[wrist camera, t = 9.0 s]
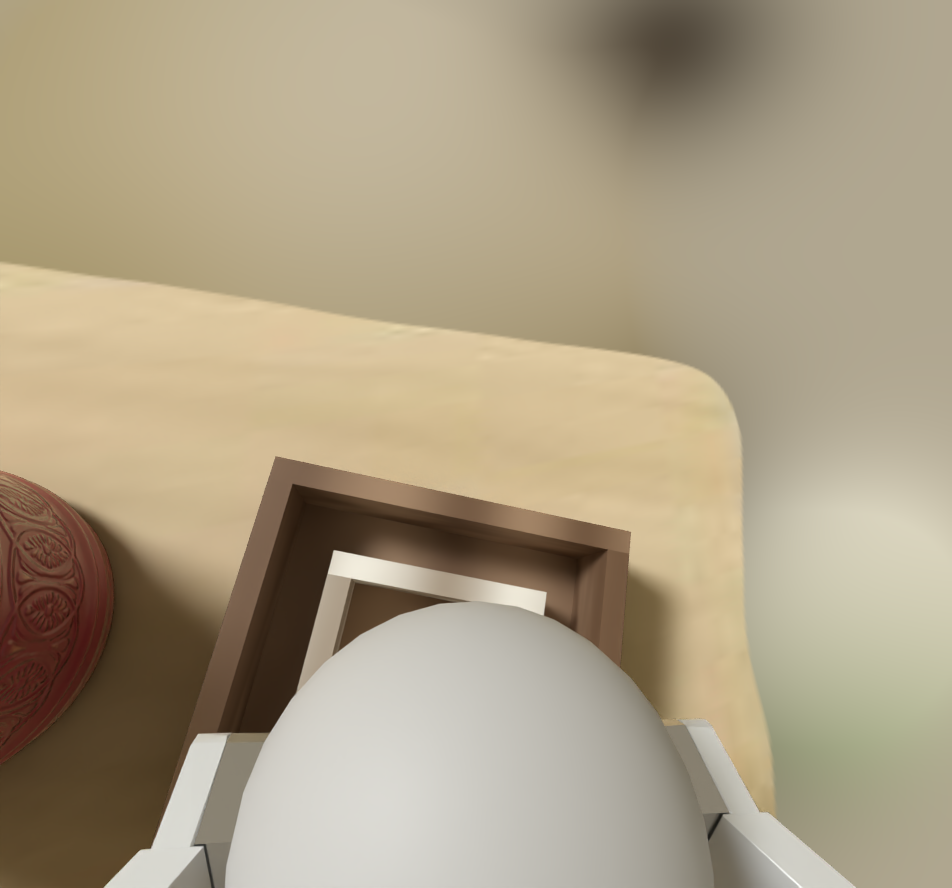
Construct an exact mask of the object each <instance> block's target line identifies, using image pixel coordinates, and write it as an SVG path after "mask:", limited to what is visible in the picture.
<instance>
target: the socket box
mask: <svg viewBox="0 0 952 888" xmlns="http://www.w3.org/2000/svg"><path fill="white" fill-rule="evenodd" d="M630 536H631V532H629V531H624V530H620V529H615V528H610V527H606V526H601V525H596V524H592V523H587V522H582V521H577V520H573V519H568V518H563V517H559V516H554V515H549V514H544V513H540V512H535V511H530V510H526V509H521V508H516V507H512V506H507V505H502V504H497V503H493V502H488V501H483V500H479V499H474V498H469V497H464V496H460V495H455V494H450V493H446V492H441V491H436V490H432V489H427V488H422V487H417V486H413V485H408V484H403V483H399V482H394V481H389V480H384V479H380V478H375V477H370V476H366V475H361V474H356V473H352V472H347V471H342V470H337V469H333V468H328V467H323V466H319V465H314V464H309V463H304V462H300V461H295V460H290V459H286V458H281V457H275V460H274V463H273V466H272V470H271V473H270V476H269V479H268V482H267V485H266V488H265V491H264V495H263V498H262V501H261V504H260V507H259V510H258V513H257V516H256V519H255V523H254V526H253V529H252V532H251V535H250V538H249V541H248V544H247V548H246V551H245V554H244V557H243V560H242V563H241V566H240V569H239V572H238V576H237V579H236V582H235V585H234V588H233V591H232V594H231V597H230V601H229V604H228V607H227V610H226V613H225V616H224V619H223V622H222V626H221V629H220V632H219V635H218V638H217V641H216V644H215V647H214V650H213V654H212V657H211V660H210V663H209V666H208V669H207V672H206V675H205V679H204V682H203V685H202V688H201V691H200V694H199V697H198V700H197V703H196V707H195V710H194V713H193V716H192V719H191V722H190V725H189V728H188V732H187V735H186V738H185V741H184V744H183V747H182V750H181V753H180V757H179V760H178V763H177V766H176V769H175V772H174V775H173V778H172V781H171V785H170V788H169V791H168V794H167V797H166V800H165V803H164V806H163V810H162V813H161V816H160V819H159V822H158V825H157V828H156V831H155V834H154V838H153V841H152V844H151V847H150V849H151V848H152V845H153V843H154V840H155V837H156V835H157V832H158V830H159V827H160V824H161V822H162V819H163V816H164V814H165V811H166V809H167V806H168V803H169V801H170V798H171V795H172V793H173V790H174V788H175V785H176V782H177V780H178V777H179V774H180V772H181V769H182V767H183V764H184V761H185V759H186V756H187V753H188V751H189V748H190V746H191V744H192V742H193V741H194V739H195V738H196V736H197V735H198V734H208V733H266V732H271V731H272V729H273V728H274V726H275V724H276V723H277V721H278V720H279V718H280V716H281V715H282V713H283V712H284V710H285V709H286V707H287V705H288V704H289V702H290V701H291V699H292V698H293V697H294V696H295V694H296V693H297V692H298V691H299V690H300V689H301V688H302V687H303V686H304V684H305V683H306V682H307V681H308V680H309V679H310V678H311V677H312V676H313V675H314V673H315V672H316V671H317V670H318V669H319V668H320V667H321V666H322V665H323V663H324V662H326V661H327V660H328V659H330V658H331V657H332V656H333V655H335V654H336V653H337V652H339V651H340V650H341V649H342V648H344V647H345V646H346V645H348V644H349V643H350V642H352V641H353V640H354V639H355V638H357V637H358V636H359V635H361V634H363V633H365V632H367V631H369V630H371V629H373V628H374V627H376V626H378V625H380V624H382V623H384V622H386V621H388V620H390V619H392V618H394V617H396V616H398V615H401V614H404V613H408V612H412V611H415V610H419V609H422V608H426V607H430V606H433V605H437V604H444V603H459V602H473V601H482V602H489V603H496V604H503V605H511V606H518V607H521V608H523V609H526V610H529V611H532V612H535V613H537V614H540V615H543V616H546V617H549V618H551V619H554V620H556V621H558V622H559V623H561V624H563V625H564V626H566V627H568V628H569V629H571V630H573V631H574V632H576V633H578V634H579V635H581V636H583V637H584V638H586V639H588V640H589V641H590V642H592V643H593V644H594V645H595V646H596V647H597V648H598V649H600V650H601V651H602V652H603V653H604V654H605V655H606V656H607V657H608V658H609V659H611V660H612V661H613V662H614V663H615V664H616V665H617V666H618V667H619V668H620V665H621V652H622V639H623V626H624V614H625V601H626V588H627V575H628V562H629V549H630Z"/></svg>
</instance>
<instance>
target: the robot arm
mask: <svg viewBox="0 0 952 888" xmlns="http://www.w3.org/2000/svg"><path fill="white" fill-rule="evenodd" d="M661 720H662V722H663V724H664V726H665V727H666V729H667V731H668V733H669V735H670V737H671V739H672V741H673V743H674V745H675V746H676V748H677V750H678V752H679V754H680V756H681V758H682V760H683V762H684V764H685V766H686V768H687V770H688V773H689V776H690V779H691V781H692V784H693V787H694V790H695V793H696V796H697V799H698V802H699V805H700V808H701V811H702V814H703V817H704V820H705V826H706V832H707V838H708V844H709V849H710V855H711V861H712V867H713V873H714V888H856V887H855V886H854V885H853V884H852V883H850V882H849V881H848V880H847V879H845V878H844V877H843V876H842V875H841V874H840V873H839V872H837V871H836V870H835V869H834V868H833V867H832V866H830V865H829V864H828V863H827V862H826V861H825V860H823V859H822V858H821V857H820V856H819V855H817V854H816V853H815V852H814V851H813V850H812V849H811V848H809V847H808V846H807V845H806V844H805V843H804V842H802V841H801V840H800V839H799V838H798V837H797V836H795V835H794V834H793V833H792V832H791V831H790V830H788V829H787V828H786V827H785V826H784V825H782V824H781V823H780V822H779V821H778V820H777V819H775V818H774V817H773V816H772V815H771V814H770V813H768V812H760V811H759V810H758V808H757V806H756V804H755V802H754V801H753V799H752V797H751V795H750V793H749V792H748V790H747V788H746V786H745V784H744V783H743V781H742V779H741V777H740V775H739V774H738V772H737V770H736V768H735V767H734V765H733V763H732V761H731V759H730V758H729V756H728V754H727V752H726V750H725V749H724V747H723V745H722V743H721V741H720V740H719V738H718V736H717V734H716V732H715V731H714V729H713V727H712V725H711V724H710V723H709V722H708V721H707V720H705V719H700V718H699V719H679V720H677V719H661ZM269 734H270V732H266V733H208V734H198V735H197V736H196V738H195V739H194V741H193V742H192V744H191V746H190V748H189V751H188V753H187V756H186V759H185V761H184V764H183V767H182V769H181V772H180V774H179V777H178V780H177V782H176V785H175V788H174V790H173V793H172V795H171V798H170V801H169V803H168V806H167V809H166V811H165V814H164V816H163V819H162V822H161V824H160V827H159V830H158V832H157V835H156V837H155V840H154V843H153V845H152V848H151V849H142V850H140V851H139V852H138V853H137V854H136V855H135V856H134V857H133V858H132V859H131V860H130V861H129V862H128V863H127V864H126V865H125V866H124V867H123V868H122V869H121V870H120V871H119V872H118V873H117V874H116V875H115V876H114V877H113V878H112V879H111V880H110V881H109V882H108V884H107V885H106V886H105V887H104V888H225V877H226V865H227V860H228V856H229V852H230V848H231V843H232V839H233V835H234V830H235V826H236V822H237V818H238V813H239V809H240V805H241V800H242V796H243V792H244V790H245V787H246V785H247V782H248V780H249V778H250V775H251V773H252V770H253V768H254V766H255V763H256V761H257V758H258V756H259V754H260V751H261V749H262V746H263V744H264V742H265V740H266V739H267V737H268V735H269Z"/></svg>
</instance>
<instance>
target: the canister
mask: <svg viewBox="0 0 952 888" xmlns="http://www.w3.org/2000/svg"><path fill="white" fill-rule="evenodd" d="M113 610H114V582H113V575H112V570H111V566H110V562H109V559H108V556H107V554H106V551H105V549H104V547H103V545H102V543H101V541H100V539H99V538H98V536H97V534H96V533H95V531H94V530H93V529H92V528H91V526H90V525H89V524H88V523H87V522H86V521H85V520H84V518H83V517H81V516H80V515H79V514H78V513H77V512H76V511H75V510H74V509H73V508H72V507H71V506H70V505H69V504H68V503H66V502H65V501H64V500H63V499H61V498H60V497H59V496H57V495H56V494H54V493H53V492H51V491H49V490H48V489H46V488H44V487H42V486H40V485H38V484H36V483H33V482H31V481H28V480H26V479H24V478H21V477H18V476H16V475H13V474H10V473H7V472H3V471H0V765H1V764H2V763H4V762H5V761H7V760H8V759H10V758H11V757H12V756H14V755H15V754H16V753H18V752H19V751H20V750H21V749H23V748H24V747H25V746H27V745H28V744H30V743H31V742H32V741H33V740H35V739H36V738H37V737H38V736H40V735H41V734H42V733H43V732H44V731H45V730H47V729H48V728H49V727H50V726H51V725H52V724H53V723H54V722H55V721H56V720H57V719H58V718H59V717H60V716H61V715H62V714H63V713H64V712H65V711H66V709H67V708H68V707H69V706H70V705H71V704H72V702H73V701H74V700H75V699H76V697H77V696H78V695H79V693H80V692H81V691H82V689H83V688H84V686H85V685H86V683H87V682H88V680H89V678H90V676H91V675H92V673H93V671H94V670H95V668H96V666H97V663H98V661H99V659H100V657H101V655H102V652H103V650H104V647H105V645H106V642H107V638H108V635H109V632H110V627H111V623H112V617H113Z"/></svg>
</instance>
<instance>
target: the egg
mask: <svg viewBox="0 0 952 888" xmlns="http://www.w3.org/2000/svg"><path fill="white" fill-rule="evenodd" d="M225 888H714V873H713V867H712V861H711V855H710V849H709V844H708V838H707V832H706V826H705V820H704V817H703V814H702V811H701V808H700V805H699V802H698V799H697V796H696V793H695V790H694V787H693V784H692V781H691V779H690V776H689V773H688V770H687V768H686V766H685V764H684V762H683V760H682V758H681V756H680V754H679V752H678V750H677V748H676V746H675V745H674V743H673V741H672V739H671V737H670V735H669V733H668V731H667V729H666V727H665V726H664V724H663V722H662V720H661V718H660V716H659V714H658V713H657V711H656V710H655V709H654V707H653V706H652V705H651V703H650V702H649V701H648V700H647V698H646V697H645V696H644V694H643V693H642V692H641V690H640V689H639V688H638V687H637V685H636V684H635V683H634V681H633V680H632V679H631V677H629V676H628V675H627V674H626V673H625V672H624V671H623V670H622V669H621V668H619V667H618V666H617V665H616V664H615V663H614V662H613V661H612V660H611V659H609V658H608V657H607V656H606V655H605V654H604V653H603V652H602V651H601V650H600V649H598V648H597V647H596V646H595V645H594V644H593V643H592V642H590V641H589V640H588V639H586V638H584V637H583V636H581V635H579V634H578V633H576V632H574V631H573V630H571V629H569V628H568V627H566V626H564V625H563V624H561V623H559V622H558V621H556V620H554V619H551V618H549V617H546V616H543V615H540V614H537V613H535V612H532V611H529V610H526V609H523V608H521V607H518V606H511V605H503V604H496V603H489V602H482V601H473V602H459V603H444V604H437V605H433V606H430V607H426V608H422V609H419V610H415V611H412V612H408V613H404V614H401V615H398V616H396V617H394V618H392V619H390V620H388V621H386V622H384V623H382V624H380V625H378V626H376V627H374V628H373V629H371V630H369V631H367V632H365V633H363V634H361V635H359V636H358V637H357V638H355V639H354V640H353V641H352V642H350V643H349V644H348V645H346V646H345V647H344V648H342V649H341V650H340V651H339V652H337V653H336V654H335V655H333V656H332V657H331V658H330V659H328V660H327V661H326V662H324V663H323V665H322V666H321V667H320V668H319V669H318V670H317V671H316V672H315V673H314V675H313V676H312V677H311V678H310V679H309V680H308V681H307V682H306V683H305V684H304V686H303V687H302V688H301V689H300V690H299V691H298V692H297V693H296V694H295V696H294V697H293V698H292V699H291V701H290V702H289V704H288V705H287V707H286V709H285V710H284V712H283V713H282V715H281V716H280V718H279V720H278V721H277V723H276V724H275V726H274V728H273V729H272V731H271V732H270V734H269V735H268V737H267V739H266V740H265V742H264V744H263V746H262V749H261V751H260V754H259V756H258V758H257V761H256V763H255V766H254V768H253V770H252V773H251V775H250V778H249V780H248V782H247V785H246V787H245V790H244V792H243V796H242V800H241V805H240V809H239V813H238V818H237V822H236V826H235V830H234V835H233V839H232V843H231V848H230V852H229V856H228V860H227V865H226V877H225Z"/></svg>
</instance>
